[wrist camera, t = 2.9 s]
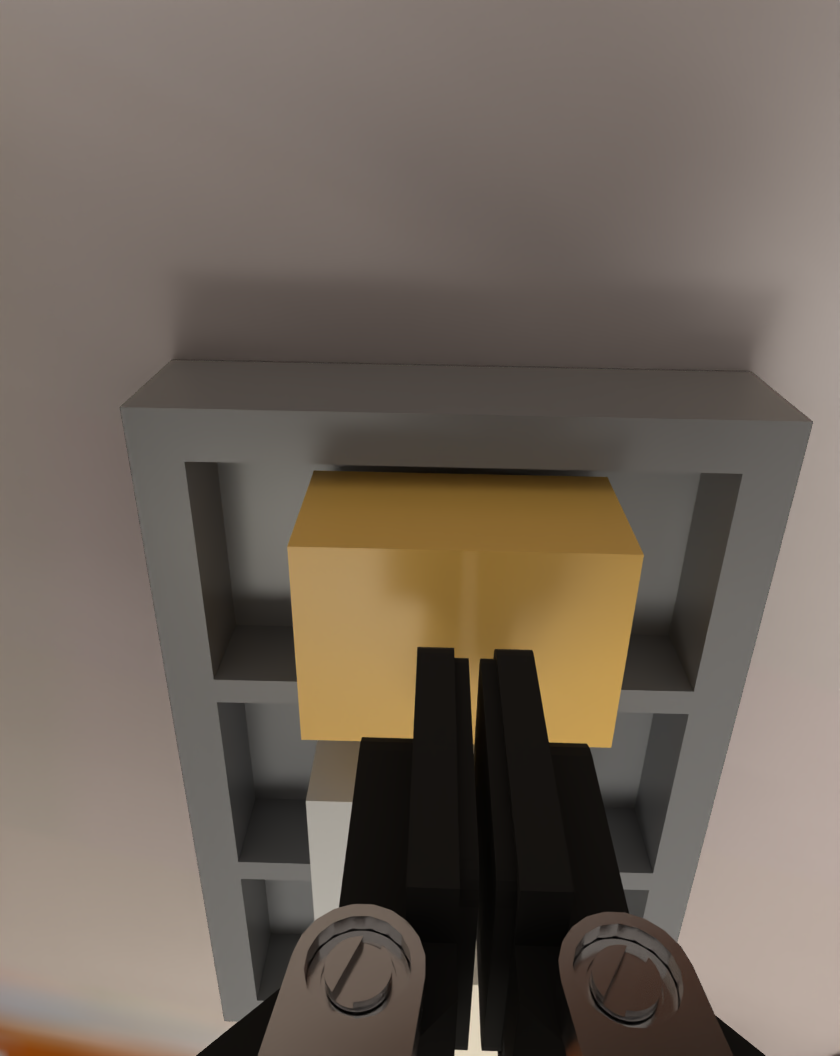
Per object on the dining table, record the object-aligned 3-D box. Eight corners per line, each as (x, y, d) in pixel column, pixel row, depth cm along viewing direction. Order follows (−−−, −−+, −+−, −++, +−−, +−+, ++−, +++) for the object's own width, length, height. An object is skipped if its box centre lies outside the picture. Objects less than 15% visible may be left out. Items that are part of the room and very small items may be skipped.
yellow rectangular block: (583, 648, 17) (611, 747, 14) (322, 641, 17) (301, 739, 14) (607, 477, 15) (644, 554, 12) (313, 470, 15) (287, 546, 12)
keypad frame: (630, 934, 25) (653, 1033, 22) (247, 923, 25) (224, 1021, 22) (751, 371, 16) (813, 421, 14) (171, 360, 16) (120, 407, 14)
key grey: (558, 830, 19) (577, 944, 17) (332, 824, 19) (315, 936, 17) (575, 704, 18) (600, 808, 15) (325, 697, 18) (305, 800, 15)
